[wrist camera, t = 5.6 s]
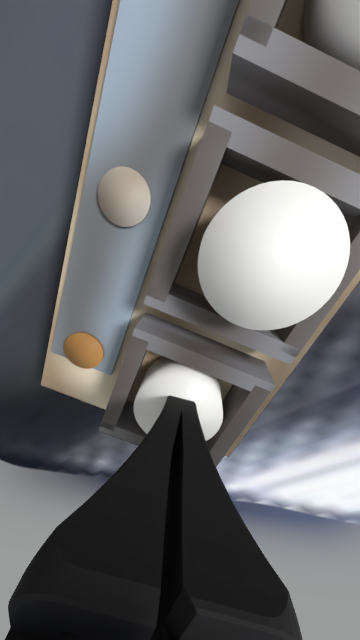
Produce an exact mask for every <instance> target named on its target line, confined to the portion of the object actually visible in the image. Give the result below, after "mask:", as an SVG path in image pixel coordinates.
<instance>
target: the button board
mask: <svg viewBox="0 0 360 640" xmlns="http://www.w3.org/2000/svg"><path fill="white" fill-rule="evenodd" d="M305 1H306V0H113V1H112V7H111V12H110V17H109V23H108V28H107V33H106V39H105V44H104V49H103V55H102V60H101V65H100V71H99V76H98V82H97V87H96V92H95V98H94V103H93V108H92V114H91V119H90V124H89V130H88V135H87V140H86V146H85V151H84V156H83V162H82V167H81V173H80V178H79V183H78V189H77V194H76V199H75V205H74V210H73V215H72V221H71V226H70V231H69V237H68V242H67V248H66V253H65V258H64V264H63V269H62V274H61V280H60V285H59V290H58V296H57V301H56V306H55V312H54V317H53V322H52V328H51V333H50V339H49V344H48V349H47V355H46V360H45V365H44V371H43V376H42V381H41V385H42V386H45V387H48V388H50V389H53V390H55V391H58V392H61V393H63V394H66V395H68V396H71V397H74V398H76V399H79V400H81V401H84V402H87V403H89V404H92V405H95V406H97V407H100V408H102V409H105V413H104V416H103V418H102V421H101V424H100V427H99V430H98V431H100V432H103V433H105V434H108V435H111V436H113V437H116V438H118V439H121V440H124V441H126V442H129V443H132V444H134V445H137V446H139V445H140V443H141V442H142V441H143V439H144V438H145V436H146V435H147V434H146V433H145V432H144V431H143V430H142V428H141V427H140V426H139V424H138V423H137V421H136V418H135V415H134V401H135V398H136V396H137V393H138V391H139V388H140V386H141V383H142V381H143V378H144V376H145V373H146V372H147V370H148V368H149V367H150V366H151V365H152V364H153V363H154V362H155V361H157V360H158V359H160V358H162V357H166V358H169V359H171V360H174V361H176V362H179V363H181V364H184V365H186V366H188V367H191V368H193V369H196V370H198V371H201V372H203V373H206V374H208V375H211V376H213V377H216V378H218V379H219V381H220V388H221V398H222V408H223V421H222V424H221V427H220V428H219V430H218V431H217V433H216V434H215V435H214V436H213V437H212V438H210V439H209V440H207V441H206V443H207V446H208V448H209V451H210V454H211V456H212V459H213V461H214V464H215V466H217V465H218V464H219V462H220V461H221V459H222V458H223V457H224V455H225V456H228V457H229V456H230V455H231V453H232V452H233V450H234V449H235V448H236V446H237V445H238V444H239V442H240V441H241V440H242V438H243V437H244V436H245V434H246V433H247V432H248V430H249V429H250V428H251V426H252V425H253V424H254V422H255V421H256V420H257V418H258V417H259V415H260V414H261V413H262V411H263V410H264V409H265V407H266V406H267V405H268V403H269V402H270V401H271V399H272V398H273V397H274V395H275V394H276V393H277V391H278V390H279V389H280V387H281V386H282V385H283V383H284V382H285V380H286V379H287V378H288V376H289V375H290V374H291V372H292V371H293V370H294V368H295V367H296V366H297V364H298V363H299V362H300V360H301V359H302V358H303V356H304V355H305V354H306V352H307V351H308V350H309V348H310V347H311V345H312V344H313V343H314V341H315V340H316V339H317V337H318V336H319V335H320V333H321V332H322V331H323V329H324V328H325V327H326V325H327V324H328V323H329V321H330V320H331V319H332V317H333V316H334V315H335V313H336V312H337V310H338V309H339V308H340V306H341V305H342V304H343V302H344V301H345V300H346V298H347V297H348V296H349V294H350V293H351V292H352V290H353V289H354V288H355V286H356V285H357V284H358V282H359V281H360V71H359V70H357V69H355V68H353V67H351V66H349V65H347V64H345V63H343V62H341V61H339V60H337V59H335V58H333V57H331V56H329V55H327V54H325V53H323V52H321V51H319V50H318V49H316V48H314V47H312V46H310V45H308V44H306V43H305V40H304V26H303V18H304V7H305ZM281 180H284V181H296V182H301V183H305V184H308V185H310V186H313V187H315V188H317V189H319V190H320V191H322V192H324V193H325V194H326V195H327V196H328V197H330V198H331V199H332V200H333V201H334V203H335V204H336V205H337V206H338V208H339V209H340V211H341V212H342V214H343V216H344V218H345V221H346V223H347V227H348V231H349V237H350V255H349V260H348V265H347V268H346V271H345V274H344V276H343V278H342V281H341V283H340V285H339V286H338V288H337V289H336V291H335V293H334V294H333V295H332V296H331V298H330V299H329V300H328V301H327V302H326V303H325V304H324V305H323V306H322V307H321V308H320V309H319V310H317V311H316V312H315V313H314V314H312V315H311V316H309V317H308V318H306V319H304V320H302V321H300V322H298V323H296V324H294V325H291V326H288V327H285V328H281V329H275V330H252V329H247V328H243V327H240V326H238V325H235V324H233V323H231V322H229V321H228V320H226V319H225V318H223V317H222V316H221V315H219V314H218V313H217V312H216V311H215V310H214V309H213V307H212V306H211V305H210V304H209V302H208V301H207V299H206V297H205V295H204V293H203V291H202V288H201V285H200V282H199V276H198V254H199V249H200V245H201V241H202V238H203V235H204V233H205V231H206V229H207V227H208V225H209V223H210V222H211V220H212V219H213V218H214V217H215V215H216V214H217V213H218V212H219V211H220V209H221V208H222V207H223V206H224V205H226V204H227V203H228V202H229V201H230V200H231V199H233V198H234V197H235V196H237V195H238V194H240V193H242V192H243V191H245V190H247V189H249V188H251V187H254V186H256V185H259V184H263V183H267V182H271V181H281Z"/></svg>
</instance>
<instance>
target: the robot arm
mask: <svg viewBox="0 0 360 640" xmlns="http://www.w3.org/2000/svg"><path fill="white" fill-rule="evenodd" d="M8 611H9V619H10V625H11V628H10V630H9V632H8V635H7V636H6V639H5V640H302V636H301V632H300V627H299V624H298V620H297V617H296V613H295V610H294V607H293V604H292V601H291V598H290V595H289V591H288V590H287V588H286V587H285V585H284V584H283V582H282V581H281V580H280V578H279V577H278V575H277V574H276V572H275V571H274V569H273V568H272V567H271V565H270V564H269V562H268V561H267V559H266V558H265V556H264V555H263V553H262V551H261V550H260V548H259V547H258V545H257V543H256V542H255V540H254V539H253V537H252V535H251V534H250V532H249V530H248V529H247V527H246V525H245V523H244V522H243V520H242V518H241V516H240V515H239V513H238V511H237V509H236V508H235V506H234V504H233V502H232V500H231V498H230V496H229V494H228V492H227V490H226V488H225V486H224V484H223V482H222V480H221V478H220V476H219V473H218V471H217V469H216V466H215V464H214V461H213V459H212V456H211V454H210V451H209V448H208V446H207V443H206V440H205V437H204V434H203V431H202V427H201V424H200V420H199V416H198V412H197V407H196V404H195V402H193V401H190V400H186V399H182V398H178V397H174V396H171V395H170V396H168V397H167V400H166V403H165V405H164V407H163V409H162V411H161V413H160V415H159V417H158V418H157V420H156V422H155V423H154V425H153V426H152V428H151V429H150V431H149V432H148V434H147V435H146V436H145V438H144V439H143V441H142V442H141V443H140V445H139V446H138V447H137V448H136V450H135V451H134V452H133V453H132V455H131V456H130V457H129V458H128V459H127V460H126V462H125V463H124V464H123V465H122V466H121V467H120V468H119V469H118V470H117V471H116V473H115V474H114V475H113V476H112V477H111V478H110V479H109V480H108V481H107V482H106V483H105V484H104V485H103V486H102V487H101V488H100V489H99V490H98V491H97V492H96V493H95V494H94V495H92V496H91V497H90V498H89V499H88V500H87V501H86V502H85V503H84V504H83V505H82V506H81V507H79V508H78V509H77V510H76V511H75V512H74V513H72V514H71V515H70V516H69V517H68V518H67V519H65V520H64V521H63V522H62V523H61V524H60V525H59V526H58V527H56V529H55V530H54V531H53V533H52V534H51V535H50V536H49V538H48V539H47V540H46V542H45V543H44V544H43V545H42V547H41V548H40V550H39V551H38V552H37V554H36V555H35V557H34V558H33V560H32V561H31V563H30V564H29V566H28V567H27V569H26V571H25V572H24V574H23V576H22V578H21V580H20V582H19V584H18V586H17V588H16V589H15V591H14V593H13V595H12V597H11V599H10V601H9V605H8Z"/></svg>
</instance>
